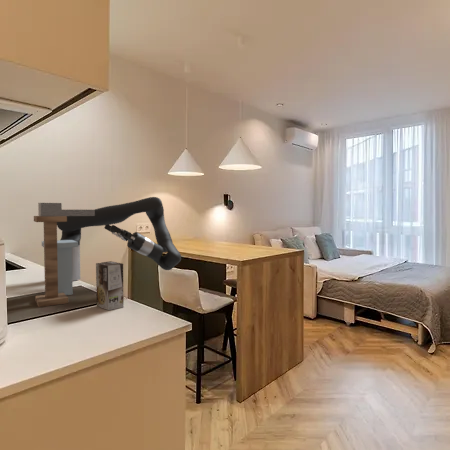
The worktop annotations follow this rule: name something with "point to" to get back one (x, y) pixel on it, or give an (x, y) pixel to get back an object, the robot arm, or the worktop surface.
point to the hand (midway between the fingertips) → (108, 226)
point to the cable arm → (56, 210)
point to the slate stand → (65, 265)
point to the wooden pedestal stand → (50, 262)
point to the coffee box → (109, 285)
